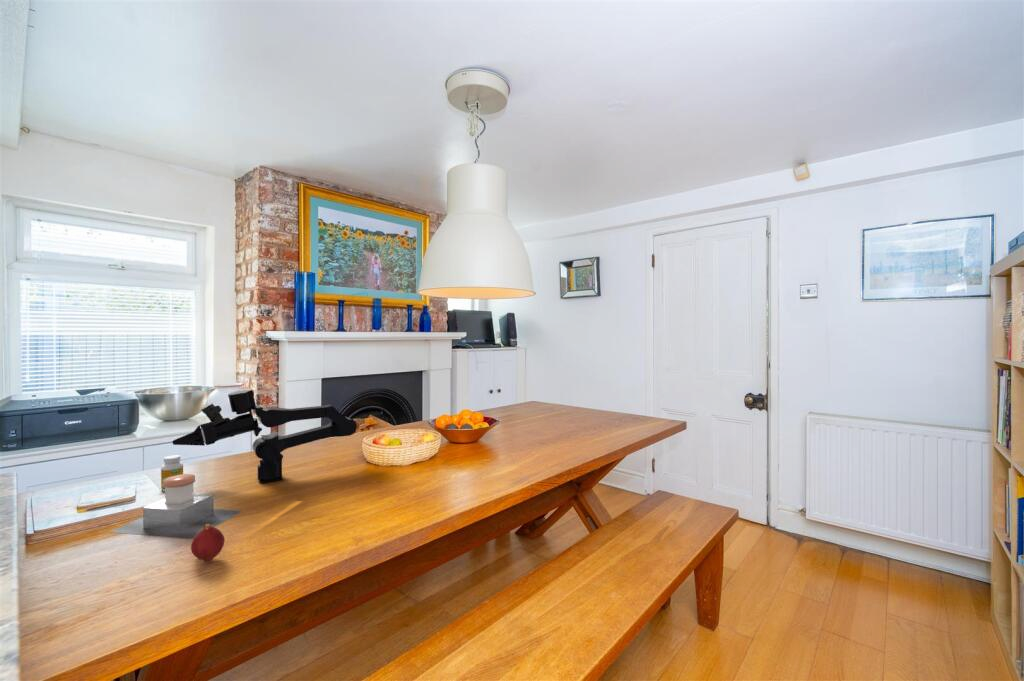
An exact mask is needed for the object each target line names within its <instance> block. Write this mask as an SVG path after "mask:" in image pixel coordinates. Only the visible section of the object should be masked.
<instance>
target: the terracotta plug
mask: <svg viewBox="0 0 1024 681" xmlns="http://www.w3.org/2000/svg"><path fill="white" fill-rule="evenodd" d="M195 482H196V475H195V474H191V473H186V474H184V473H183V474H182V475H176V476H172V477H168V478H166V479H164V480H163V486H164V487H165V491H164V493H165V494H164V497H165V498H164V499H165V504H168V505H182V504H184V503H186V502H188V501H191V500H193V493H194V483H195Z"/></svg>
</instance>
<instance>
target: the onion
mask: <svg viewBox="0 0 1024 681" xmlns="http://www.w3.org/2000/svg"><path fill="white" fill-rule="evenodd" d="M203 527H204V529H203V530H201V531H200V532H199V533H198V534H197V535H196V536H195V537H194V538H193V539H192V542H191V544H190V551H191V553H192V555H193V556H194V557H196V558H197V559H199V560H201V561H203V562H205V563H207V562H210V561H212V560H213V559H214V558H215V557H216V556H218V555H219V554H220V552H222V550H223V547H224V545H225V537H224V534H223V532H222V531H221V530H220V529H219V528H217V527H216V526H215V527H212V526H211V525H209V524H206V525H205V526H203Z"/></svg>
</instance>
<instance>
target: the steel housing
mask: <svg viewBox="0 0 1024 681" xmlns="http://www.w3.org/2000/svg"><path fill="white" fill-rule="evenodd" d="M214 500H215V498H214V494H208V493H207V494H206V493H205V494H204V493H194V492H193V500H191V501H188V502H186V503H184V504H182V505H168V504H165V498H163V499H160V500H158V501H155V502H154V503H151V504H148V505H146V506H143V507H142V517H143V528H148V529H160V530H172V531H182V530H183V529H185V528H187V527H189V526H191V525H193V524H195V523H197V522H199V521H201V520H203V519H205V518H207V517H209V516H211V515H213V514H214V509H215V507H214V506H215V505H214V503H215V502H214Z"/></svg>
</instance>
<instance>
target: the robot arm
mask: <svg viewBox="0 0 1024 681" xmlns="http://www.w3.org/2000/svg"><path fill="white" fill-rule="evenodd" d="M227 396H228V400H229V405H230V409H231V413H235V414H236V415H237V416H233V417H223V416H222V413H221V412H222V408H221V406H220V405H214V404H213V403H210V404H208V405H206V406H204V407H203V408H201V412H202V413H203V414H204V415H205V416H206V417H207V418H208V420H209V422H205V423H201V424H198V426H197V427H196V428H195V429H194V431H192V432H189V433H187V434H185V435H183V436H180V437H177V438H176V439H173V440H172V441H171V442H172V445H174V446H175V445H176V446H201V447H202V446H205V445H206V446H209V445H213V444H215V443H216V442H218V441H221V440H224V439H227V438H232V437H235V436H239V435H242V434H245V433H249V432H250V433H251V432H253V435H254V436H255V437H258V436H259V434H260V437H258V438H256V439H255V440H254V441H253V443H252V447H251V449H252V451H253V453H254V454H255V456H256V457H257V458H259V459H260V460H259V461H258V462H259V464H258V465H257V466H256V468H257V481H259V483H260V484H264V483H265V484H266V483H272V482H277V481H283V480H284V477H283V458H284V455H283V454H282V453H283V451H286V450H287V449H290V448H294V447H297V446H301V445H305V444H309V443H313V442H316V441H319V440H323V439H327V438H330V437H338V438H339V437H348V436H352V435H354V434H355V433H356V431H357V428H358V425H357V422H356V421H355V420H354V419H351V418H349V417H348V416H345V415H343V414H342V413H341V412H340V411H338V410H337V409H336V407H335V406H332V405H331V404H325V405H319V406H318V405H317V406H315V405H314V406H307V407H296V408H295V407H294V408H285V407H275V406H266V407H261V406H260V405H257V404H256V400H255V392H254V390H253V389H249V390H248V389H245V390H237V391H233V392H230V393H228V394H227ZM253 413H254V414H255V415H256V417H257V418H255V417H254V416H253ZM321 418H327V419H328V420H329V421H330V422H328V423H327V424H324V425H322V426H321V425H320V426H317V427H313V428H310V429H306V430H301V431H299V432H294V433H290V434H286V435H281V436H280V435H278V434H277V433H276V432H270V433H269V434H261V432H262V430H263V428H262V427H260V426H259V422H260V424H262V426H264V427H265V428H275V427H279V426H282V425H285V424H287V423H290V422H293V421H294V422H296V421H297V422H298V421H305V420H314V419H321Z"/></svg>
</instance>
